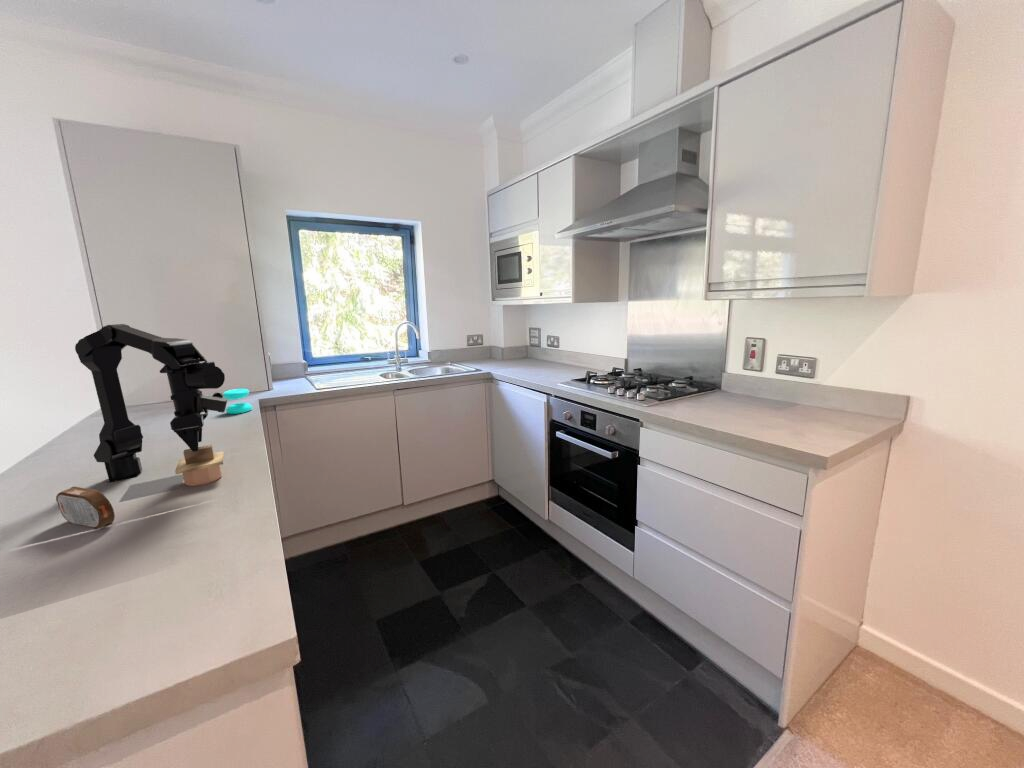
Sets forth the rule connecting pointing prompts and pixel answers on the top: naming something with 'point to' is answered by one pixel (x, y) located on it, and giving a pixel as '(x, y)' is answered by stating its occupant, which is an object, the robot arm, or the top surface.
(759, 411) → the top surface
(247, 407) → the pair of cyan discs
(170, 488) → the mat
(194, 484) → the bowl
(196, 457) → the lid
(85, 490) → the tin
